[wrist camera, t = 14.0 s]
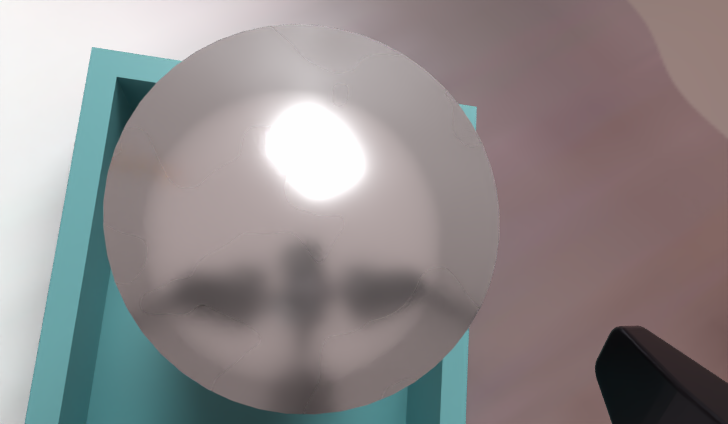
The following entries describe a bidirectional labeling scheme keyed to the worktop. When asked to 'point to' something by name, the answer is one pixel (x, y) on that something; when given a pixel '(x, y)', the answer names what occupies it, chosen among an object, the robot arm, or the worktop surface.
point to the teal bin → (120, 331)
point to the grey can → (301, 219)
